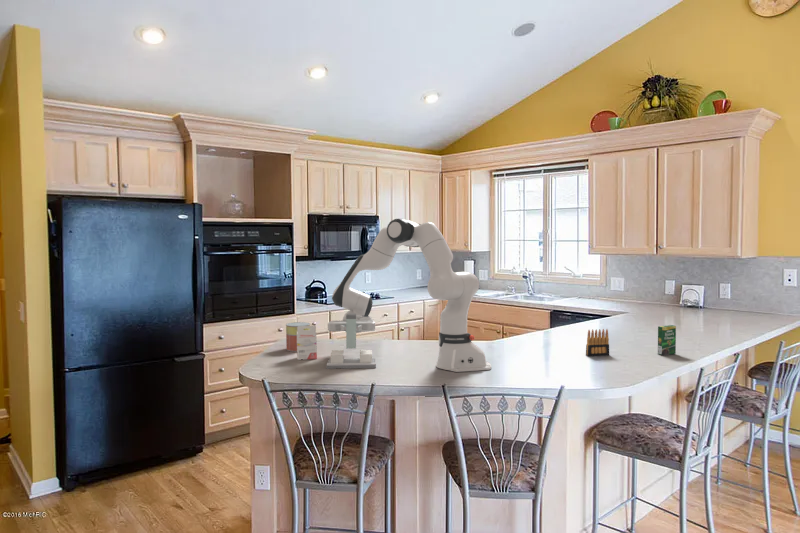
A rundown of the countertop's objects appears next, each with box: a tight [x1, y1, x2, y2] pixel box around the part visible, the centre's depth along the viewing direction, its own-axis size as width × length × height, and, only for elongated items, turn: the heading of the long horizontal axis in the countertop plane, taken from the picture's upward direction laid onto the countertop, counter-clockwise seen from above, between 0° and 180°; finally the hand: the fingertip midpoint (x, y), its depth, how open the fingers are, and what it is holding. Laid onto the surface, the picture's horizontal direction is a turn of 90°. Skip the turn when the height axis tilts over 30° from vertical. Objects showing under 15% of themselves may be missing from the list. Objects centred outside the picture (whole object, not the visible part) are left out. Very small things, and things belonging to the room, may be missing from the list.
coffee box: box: [657, 324, 677, 356], centre depth 258 cm, size 8×3×13 cm, turn 107°
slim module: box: [345, 313, 357, 350], centre depth 239 cm, size 4×4×14 cm
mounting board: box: [326, 349, 377, 370], centre depth 239 cm, size 20×12×5 cm, turn 94°
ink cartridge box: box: [296, 325, 318, 361], centre depth 251 cm, size 9×5×15 cm, turn 101°
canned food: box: [285, 321, 311, 353], centre depth 271 cm, size 11×11×12 cm
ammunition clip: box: [585, 328, 610, 357], centre depth 256 cm, size 11×2×12 cm, turn 102°
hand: (351, 329), depth 238 cm, fingers closed on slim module, 4 cm apart
